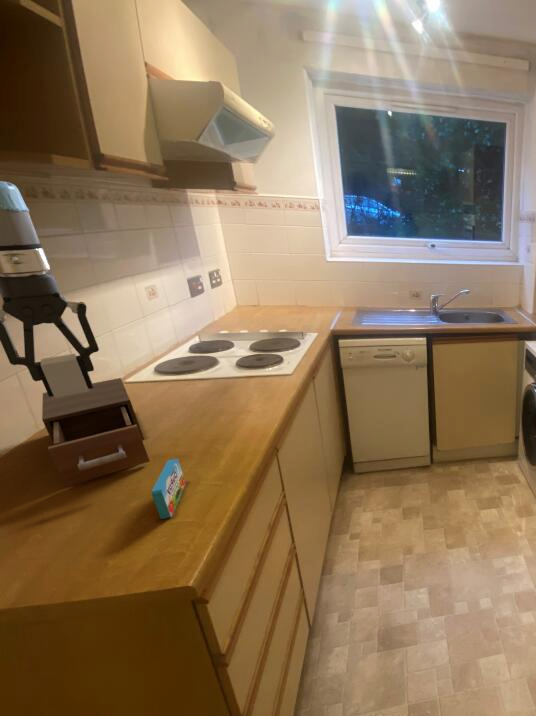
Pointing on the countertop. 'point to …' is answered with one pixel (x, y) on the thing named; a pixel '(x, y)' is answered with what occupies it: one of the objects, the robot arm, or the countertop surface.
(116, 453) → the drawer
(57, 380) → the block
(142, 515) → the countertop surface
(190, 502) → the countertop surface
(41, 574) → the countertop surface
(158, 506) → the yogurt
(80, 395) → the cabinet
